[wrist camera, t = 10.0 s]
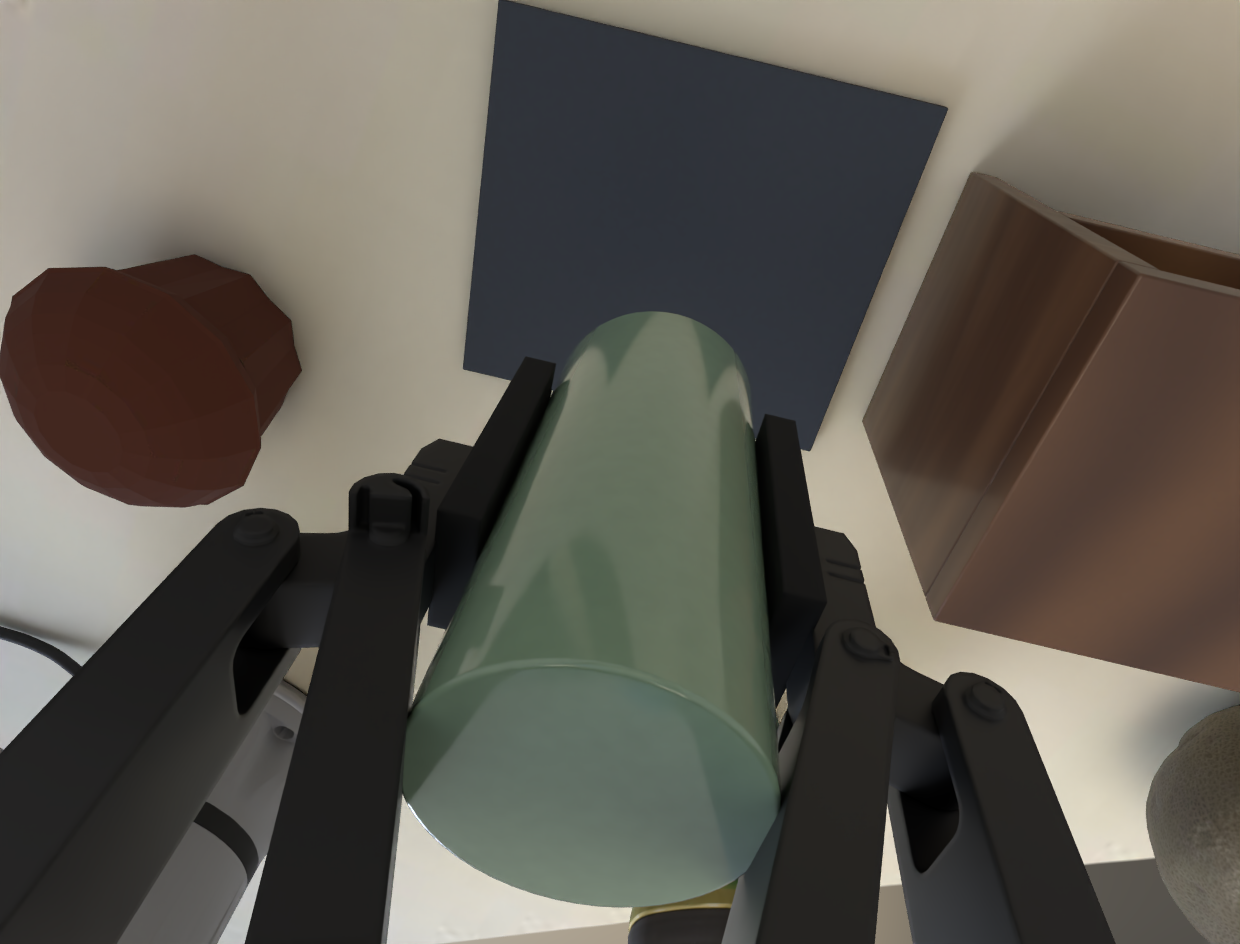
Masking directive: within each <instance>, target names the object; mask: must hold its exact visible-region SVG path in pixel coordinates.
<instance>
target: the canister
mask: <svg viewBox="0 0 1240 944" xmlns="http://www.w3.org/2000/svg"><path fill="white" fill-rule="evenodd" d="M402 793H403V795H404V798H405V800H406V802H407V804H408V806H409V807H410V809H411V811H412V812H413V814H414V815H415V817H416V818H417V820H418V821H419V822H420V823H421V824H422V826H423V827H424V828H425V829H426V830H427V832H428V833H429V834H431V835H432V836H433V837H434V838H435V839H436V840H437V841H438V842H439V843H440V844H441V845H442V846H443V847H445V848H446V849H447V850H449V851H450V852H451V853H452V854H454V855H455V856H456V857H458V858H459V859H461V860H462V861H464V862H466V863H467V864H469V865H470V866H472V867H473V868H475V869H477V870H479V871H481V872H483V873H485V874H486V875H488V876H490V877H492V878H494V879H497V880H499V881H501V882H504V883H506V884H508V885H510V886H513V887H516V888H519V889H522V890H524V891H527V892H530V893H533V894H537V895H540V896H544V897H548V898H551V899H555V900H560V901H566V902H571V903H576V904H583V905H591V906H601V907H647V906H658V905H665V904H671V903H676V902H682V901H686V900H689V899H693V898H696V897H700V896H703V895H705V894H708V893H710V892H713V891H715V890H718V889H720V888H722V887H724V886H726V885H728V884H730V883H731V882H733V881H735V880H737V879H738V878H739V877H741V876H742V875H743V874H745V873H746V871H747V869H748V868H749V866H750V864H751V863H752V861H753V859H754V857H755V855H756V853H757V852H758V850H759V848H760V846H761V844H762V843H763V841H764V839H765V837H766V835H767V833H768V832H769V830H770V828H771V826H772V824H773V823H774V821H775V819H776V817H777V815H778V813H779V811H780V808H781V805H782V792H781V778H780V765H779V752H778V738H777V725H776V712H775V699H774V685H773V672H772V659H771V645H770V632H769V619H768V605H767V592H766V579H765V565H764V552H763V539H762V525H761V512H760V499H759V485H758V472H757V459H756V446H755V432H754V419H753V406H752V393H751V387H750V382H749V379H748V376H747V373H746V370H745V368H744V366H743V364H742V362H741V360H740V358H739V357H738V355H737V354H736V353H735V351H734V350H733V348H732V347H731V346H730V345H729V344H728V343H727V342H726V341H725V340H724V339H723V338H722V337H721V336H719V335H718V334H717V333H716V332H715V331H713V330H712V329H710V328H708V327H707V326H705V325H704V324H702V323H700V322H697V321H695V320H693V319H691V318H688V317H685V316H681V315H678V314H673V313H667V312H655V311H648V312H636V313H632V314H627V315H623V316H620V317H617V318H614V319H612V320H610V321H608V322H606V323H604V324H602V325H600V326H598V327H597V328H596V329H594V330H593V331H591V332H590V333H589V334H588V335H587V336H586V337H584V338H583V339H582V340H581V341H580V343H579V344H578V345H577V346H576V347H575V349H574V350H573V351H572V353H571V355H570V356H569V358H568V360H567V362H566V364H565V366H564V369H563V371H562V373H561V375H560V377H559V380H558V382H557V384H556V386H555V389H554V391H553V393H552V395H551V397H550V400H549V402H548V404H547V406H546V408H545V411H544V413H543V415H542V417H541V420H540V422H539V424H538V426H537V428H536V431H535V433H534V435H533V437H532V440H531V442H530V444H529V446H528V448H527V451H526V453H525V455H524V457H523V459H522V462H521V464H520V466H519V468H518V471H517V473H516V475H515V477H514V479H513V482H512V484H511V486H510V488H509V491H508V493H507V495H506V497H505V499H504V502H503V504H502V506H501V508H500V510H499V513H498V515H497V517H496V519H495V522H494V524H493V526H492V528H491V530H490V533H489V535H488V537H487V539H486V542H485V544H484V546H483V548H482V550H481V553H480V555H479V557H478V559H477V562H476V564H475V566H474V568H473V570H472V573H471V575H470V577H469V579H468V581H467V584H466V586H465V588H464V590H463V593H462V595H461V597H460V599H459V601H458V604H457V606H456V608H455V610H454V613H453V615H452V617H451V619H450V621H449V624H448V626H447V628H446V630H445V632H444V635H443V637H442V639H441V641H440V644H439V646H438V648H437V650H436V652H435V655H434V657H433V659H432V661H431V664H430V666H429V668H428V670H427V672H426V675H425V677H424V679H423V681H422V683H421V686H420V688H419V690H418V692H417V695H416V697H415V699H414V701H413V703H412V706H411V708H410V710H409V712H408V717H407V728H406V742H405V756H404V770H403V785H402Z"/></svg>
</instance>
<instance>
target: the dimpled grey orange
mask: <svg viewBox="0 0 1240 944" xmlns="http://www.w3.org/2000/svg"><path fill="white" fill-rule="evenodd" d="M1146 819H1147V828H1148V833H1149V838H1150V842H1151V845H1152V849H1153V852H1154V856H1155V859H1156V863H1157V866H1158V869H1159V872H1160V874H1161V877H1162V879H1163V881H1164V883H1165V885H1166V887H1167V889H1168V891H1169V893H1170V894H1171V896H1172V898H1173V900H1174V901H1175V903H1176V904H1177V905H1178V907H1179V908H1180V909H1181V911H1182V912H1183V913H1184V915H1185V916H1186V917H1187V919H1188V920H1189V921H1190V923H1191V924H1192V925H1193V926H1194V927H1195V928H1196V930H1197V931H1198V932H1199V933H1200V934H1201V935H1202V936H1203V937H1204V938H1205V939H1206V940H1208V941H1209V942H1210V943H1211V944H1240V705H1237V706H1233V707H1230V708H1228V709H1225V710H1222V711H1219V712H1216V713H1213V714H1211V715H1209V716H1207V717H1206V718H1204V719H1203V720H1201V721H1200V722H1199V723H1197V724H1196V725H1195V726H1193V727H1192V728H1191V729H1190V730H1188V731H1187V732H1186V733H1185V734H1184V735H1183V737H1182V739H1181V741H1180V743H1179V746H1178V747H1177V749H1175V750H1174V751H1173V752H1172V753H1171V754H1170V755H1169V756H1168V757H1167V758H1166V759H1165V761H1164V762H1163V764H1162V765H1161V766H1160V768H1159V770H1158V771H1157V773H1156V775H1155V776H1154V779H1153V781H1152V784H1151V787H1150V791H1149V795H1148V798H1147V803H1146Z"/></svg>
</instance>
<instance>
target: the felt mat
mask: <svg viewBox="0 0 1240 944" xmlns="http://www.w3.org/2000/svg"><path fill="white" fill-rule="evenodd" d="M947 111H948V108H946V107H944V106H940V105H936V104H932V103H927V102H923V101H919V100H915V99H911V98H907V97H903V96H899V95H895V94H890V93H886V92H882V91H878V90H874V89H870V88H866V87H862V86H858V85H853V84H849V83H845V82H841V81H837V80H833V79H829V78H825V77H821V76H816V75H812V74H808V73H804V72H800V71H796V70H792V69H788V68H784V67H779V66H775V65H771V64H767V63H763V62H759V61H755V60H751V59H747V58H742V57H738V56H734V55H730V54H726V53H722V52H718V51H714V50H709V49H705V48H701V47H697V46H693V45H689V44H685V43H681V42H677V41H672V40H668V39H664V38H660V37H656V36H652V35H648V34H644V33H640V32H635V31H631V30H627V29H623V28H619V27H615V26H611V25H607V24H603V23H598V22H594V21H590V20H586V19H582V18H578V17H574V16H570V15H566V14H561V13H557V12H553V11H549V10H545V9H541V8H537V7H533V6H529V5H524V4H520V3H516V2H512V1H508V0H499V3H498V14H497V24H496V34H495V44H494V55H493V65H492V75H491V86H490V96H489V106H488V116H487V127H486V137H485V147H484V158H483V168H482V178H481V188H480V199H479V209H478V219H477V230H476V240H475V250H474V260H473V271H472V281H471V291H470V302H469V312H468V322H467V332H466V343H465V353H464V363H463V369H464V370H469V371H473V372H477V373H481V374H486V375H490V376H494V377H498V378H502V379H507V380H511V381H512V379H513V377H514V375H515V374H516V372H517V370H518V369H519V367H520V365H521V363H522V362H523V360H524V358H525V356H527V357H531V358H536V359H540V360H544V361H548V362H552V363H556V367H555V373H554V379H553V385H552V390H553V391H554V389H555V386H556V384H557V382H558V380H559V377H560V375H561V373H562V371H563V369H564V366H565V364H566V362H567V360H568V358H569V356H570V355H571V353H572V351H573V350H574V349H575V347H576V346H577V345H578V344H579V343H580V341H581V340H582V339H583V338H584V337H586V336H587V335H588V334H589V333H590V332H591V331H593V330H594V329H596V328H597V327H598V326H600V325H602V324H604V323H606V322H608V321H610V320H612V319H614V318H617V317H620V316H623V315H627V314H632V313H636V312H648V311H655V312H667V313H673V314H678V315H681V316H685V317H688V318H691V319H693V320H695V321H697V322H700V323H702V324H704V325H705V326H707V327H708V328H710V329H712V330H713V331H715V332H716V333H717V334H718V335H719V336H721V337H722V338H723V339H724V340H725V341H726V342H727V343H728V344H729V345H730V346H731V347H732V348H733V350H734V351H735V353H736V354H737V355H738V357H739V358H740V360H741V362H742V364H743V366H744V368H745V370H746V373H747V376H748V379H749V382H750V387H751V393H752V406H753V419H754V432H755V438H757V435H758V432H759V430H760V427H761V424H762V421H763V418H764V415H765V414H769V415H774V416H778V417H782V418H786V419H790V420H794V421H796V427H797V432H798V438H799V444H800V449H802V450H806V451H810V450H811V448H812V446H813V443H814V441H815V438H816V436H817V433H818V431H819V428H820V426H821V423H822V421H823V418H824V416H825V413H826V411H827V408H828V406H829V403H830V401H831V398H832V396H833V393H834V391H835V389H836V386H837V384H838V381H839V379H840V376H841V374H842V371H843V369H844V366H845V364H846V361H847V359H848V356H849V354H850V351H851V349H852V346H853V344H854V341H855V339H856V336H857V334H858V331H859V329H860V326H861V324H862V322H863V319H864V317H865V314H866V312H867V309H868V307H869V304H870V302H871V299H872V297H873V294H874V292H875V289H876V287H877V284H878V282H879V279H880V277H881V274H882V272H883V269H884V267H885V264H886V262H887V260H888V257H889V255H890V252H891V250H892V247H893V245H894V242H895V240H896V237H897V235H898V232H899V230H900V227H901V225H902V222H903V220H904V217H905V215H906V212H907V210H908V207H909V205H910V202H911V200H912V198H913V195H914V193H915V190H916V188H917V185H918V183H919V180H920V178H921V175H922V173H923V170H924V168H925V165H926V163H927V160H928V158H929V155H930V153H931V150H932V148H933V145H934V143H935V140H936V138H937V136H938V133H939V131H940V128H941V126H942V123H943V121H944V118H945V116H946V113H947Z"/></svg>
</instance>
